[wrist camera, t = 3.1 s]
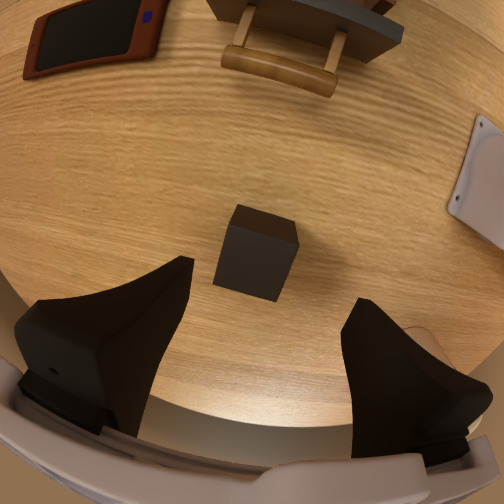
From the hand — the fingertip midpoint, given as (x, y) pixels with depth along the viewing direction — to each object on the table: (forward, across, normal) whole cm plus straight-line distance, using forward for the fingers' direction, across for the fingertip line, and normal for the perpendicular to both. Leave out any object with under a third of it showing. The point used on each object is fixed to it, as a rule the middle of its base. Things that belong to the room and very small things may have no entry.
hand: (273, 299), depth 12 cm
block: (+10, +1, +2) cm, 10 cm away
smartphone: (+10, +19, -13) cm, 25 cm away
